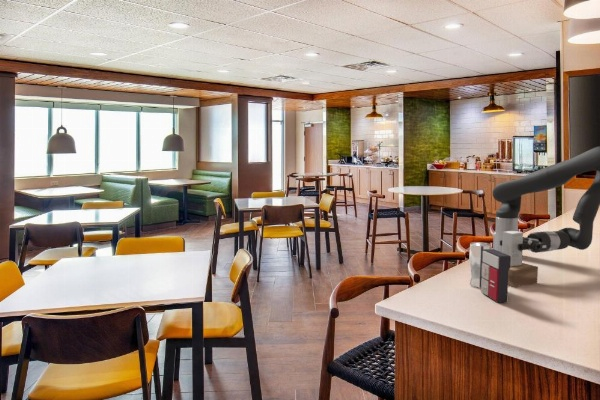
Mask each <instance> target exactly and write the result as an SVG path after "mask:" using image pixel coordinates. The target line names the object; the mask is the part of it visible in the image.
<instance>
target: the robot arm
mask: <svg viewBox="0 0 600 400" xmlns="http://www.w3.org/2000/svg"><path fill="white" fill-rule="evenodd" d="M592 171H596V172H595V173H596V174H595V177H594V179H593V182H592V183H591V185H590V186H589V187H588V189H587V190H586V191H585V193H583V194H582V196H581V197H580V198H579V200H578V201H577V205H576V206H575V207H576V208H575V210H574V212H573V215H572V220H573V222H575V223H577V224H578V226H579V229H578V228H574V227H563V228H561V229H558V230H555V231H554V230H553V231H549V230H546V231H545V230H543V231H535V232H534V231H533V232H530V233H529V234H528V235H527V236H523V244H518V250H522V251H530V252H532V253H535V254H536V253H545V252H546V253H547V252H552V251H556V250H557V251H558V250H564V249H566V248H568V247H572V248H574V249H577V250H582V251H583V250H586V249H588V248H589V247H591V244H592V242H593V234H594V232H593V231H594V221H595V219H596V217H597V213H598V211H599V208H600V145H599V146H595V147H593V148H590V149H589V150H587V151H584V152H582V153H580V154H578V155H576V156H574V157H572V158H569V159H565V160H563V161H560V162H557V163H554V164H552V165H549V166H546V167H543V168H540V169H537V170H535V171H533V172H530V173H529V174H526V175H524V176H522V177H518V178H515V179H512V180H509V181H503V182H500V183H498V184H496V185H495V186H494V188H493V190H492V197H493V199H494V200H495V201H496V202H498V203H501V205H500V207H499V208H498V209H497V210H496V211H495V230H494V232H493V235H492V236H493V237H492V238H493V239H492V241H493V242H492V249H495V250H497V251H500V252H502V238H503V232H507V231H518V229H519V228H518V227H519V224H518V223H519V214H520V211H521V206H522V196H524V195H528V194H533V193H534V194H535V193H540V192H545V191H548V190H552V189H555V188H560V187H562V186H564V185H565V184H567V183H568V182H570V181H571V180H572V179H573V178H574V177H576V176H577V175H580V174H583V173H587V172H592ZM518 232H519V231H518Z"/></svg>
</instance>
